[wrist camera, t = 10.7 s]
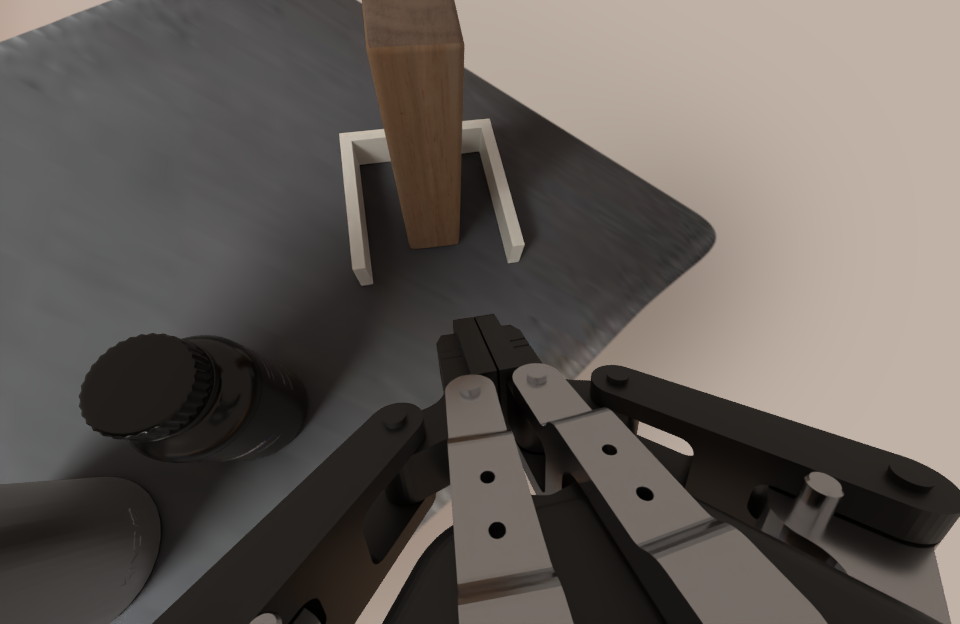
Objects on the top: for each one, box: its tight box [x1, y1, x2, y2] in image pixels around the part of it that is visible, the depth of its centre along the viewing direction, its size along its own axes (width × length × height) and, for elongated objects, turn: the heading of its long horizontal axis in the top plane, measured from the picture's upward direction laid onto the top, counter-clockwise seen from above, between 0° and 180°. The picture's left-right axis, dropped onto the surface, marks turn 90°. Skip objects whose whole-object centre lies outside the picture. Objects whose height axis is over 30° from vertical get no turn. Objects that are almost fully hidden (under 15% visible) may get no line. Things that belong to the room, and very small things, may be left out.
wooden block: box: [362, 0, 464, 249], centre depth 26 cm, size 9×4×18 cm, turn 10°
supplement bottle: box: [79, 333, 307, 463], centre depth 22 cm, size 7×7×12 cm
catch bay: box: [339, 119, 525, 286], centre depth 33 cm, size 14×14×3 cm
